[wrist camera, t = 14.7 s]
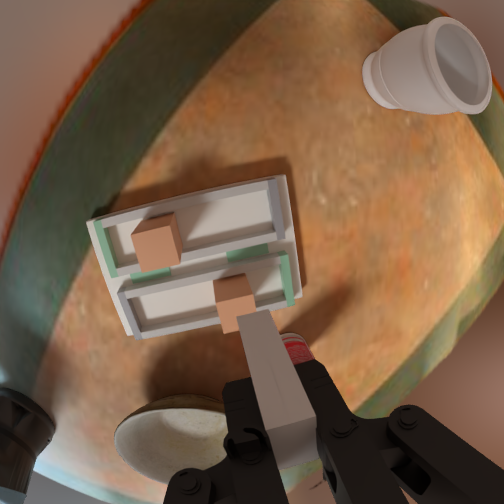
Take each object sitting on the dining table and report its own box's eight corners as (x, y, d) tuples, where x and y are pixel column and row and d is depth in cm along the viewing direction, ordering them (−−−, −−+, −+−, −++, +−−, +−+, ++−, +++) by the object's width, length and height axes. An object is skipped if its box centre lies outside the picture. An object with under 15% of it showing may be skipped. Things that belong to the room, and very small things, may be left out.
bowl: (104, 424, 45) (95, 466, 36) (155, 338, 41) (147, 387, 31) (213, 461, 53) (218, 500, 43) (285, 393, 48) (301, 437, 39)
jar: (420, 116, 36) (499, 116, 22) (361, 118, 35) (439, 112, 21) (407, 47, 33) (480, 26, 19) (346, 43, 32) (415, 6, 18)
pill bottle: (257, 349, 44) (274, 401, 34) (290, 323, 43) (316, 372, 33) (281, 370, 46) (301, 420, 36) (312, 346, 46) (340, 394, 35)
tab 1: (150, 253, 35) (141, 272, 29) (141, 220, 34) (130, 235, 28) (182, 245, 35) (180, 264, 30) (174, 212, 34) (169, 225, 28)
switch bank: (129, 329, 40) (125, 342, 37) (90, 219, 34) (81, 225, 31) (299, 291, 42) (306, 302, 39) (282, 173, 36) (289, 176, 34)
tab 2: (219, 307, 39) (223, 333, 33) (212, 279, 37) (215, 302, 32) (250, 300, 39) (259, 325, 34) (244, 272, 38) (253, 294, 32)
